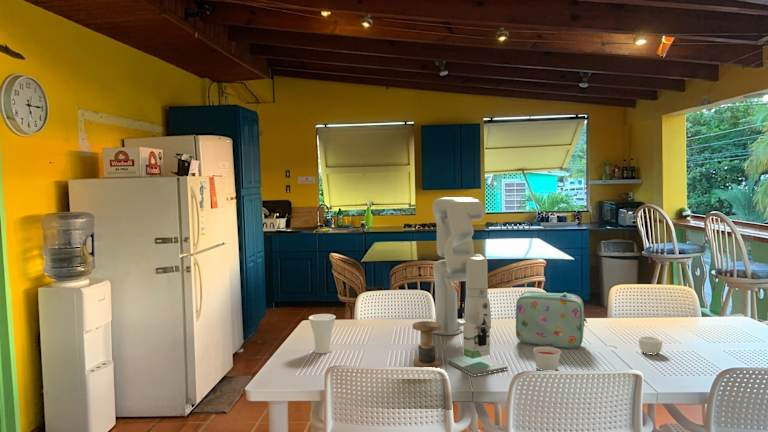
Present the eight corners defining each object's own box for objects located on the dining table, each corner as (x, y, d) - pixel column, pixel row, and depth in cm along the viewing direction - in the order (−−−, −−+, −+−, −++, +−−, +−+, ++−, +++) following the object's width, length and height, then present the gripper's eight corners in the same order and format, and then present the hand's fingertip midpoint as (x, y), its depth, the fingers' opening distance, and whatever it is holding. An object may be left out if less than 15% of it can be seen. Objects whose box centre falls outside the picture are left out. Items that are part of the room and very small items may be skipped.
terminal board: (480, 356, 198) (480, 353, 198) (507, 369, 183) (507, 366, 183) (448, 362, 192) (448, 358, 192) (473, 376, 177) (473, 372, 177)
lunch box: (587, 344, 211) (587, 291, 210) (585, 351, 202) (585, 296, 201) (519, 337, 222) (519, 286, 221) (514, 344, 213) (514, 291, 212)
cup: (314, 357, 200) (314, 321, 199) (305, 349, 209) (304, 315, 209) (340, 352, 205) (339, 318, 204) (330, 345, 214) (329, 312, 214)
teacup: (665, 357, 194) (665, 342, 194) (642, 356, 196) (643, 341, 195) (655, 348, 204) (655, 334, 204) (634, 348, 205) (634, 334, 205)
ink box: (472, 359, 183) (472, 325, 182) (462, 355, 187) (462, 322, 186) (490, 354, 187) (490, 321, 187) (480, 351, 192) (480, 318, 191)
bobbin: (432, 357, 198) (431, 319, 197) (446, 365, 189) (446, 326, 188) (408, 361, 194) (407, 323, 193) (421, 369, 185) (421, 329, 184)
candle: (555, 363, 189) (555, 346, 188) (564, 372, 180) (564, 354, 179) (530, 364, 188) (530, 346, 188) (538, 373, 179) (538, 354, 179)
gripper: (500, 295, 180) (500, 348, 181) (471, 287, 195) (471, 335, 196) (482, 297, 177) (482, 351, 178) (454, 289, 192) (454, 338, 193)
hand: (477, 342), depth 187 cm, fingers closed on ink box, 5 cm apart
